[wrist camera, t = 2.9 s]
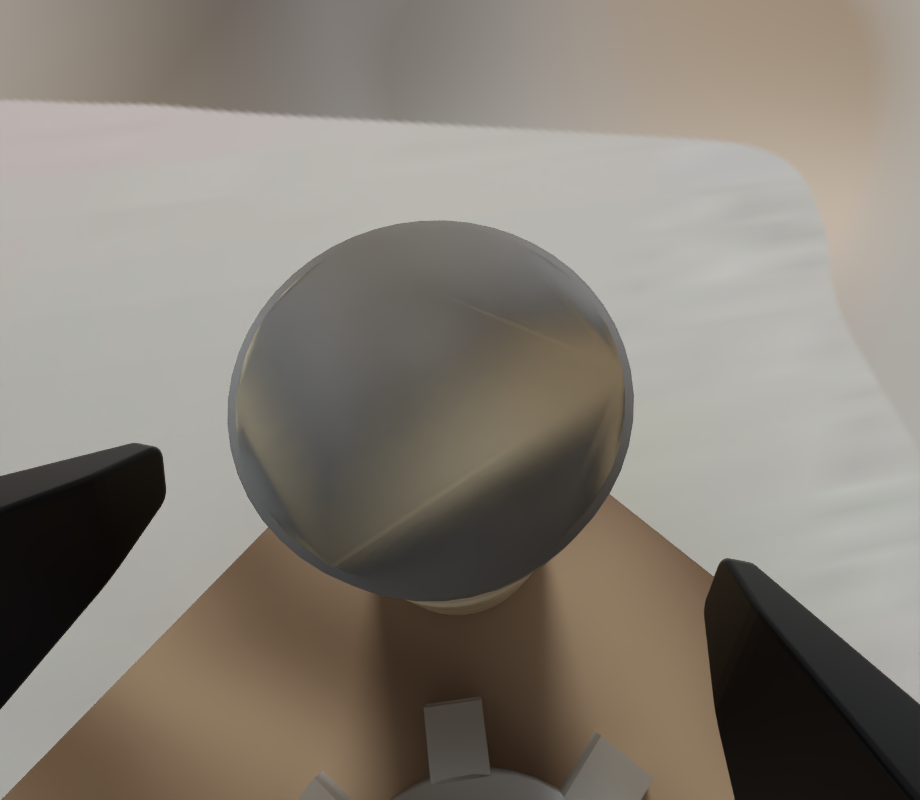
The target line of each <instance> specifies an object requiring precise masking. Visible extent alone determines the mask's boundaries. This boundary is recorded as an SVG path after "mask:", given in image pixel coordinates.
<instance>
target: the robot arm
mask: <svg viewBox="0 0 920 800" xmlns="http://www.w3.org/2000/svg"><path fill="white" fill-rule="evenodd" d="M165 495H166V483H165V474H164V464H163V456H162V453H161V451H160V450H159V449H158V448H157V447H154V446H149V445H144V444H139V443H131V444H127V445H123V446H119V447H115V448H111V449H107V450H103V451H99V452H95V453H91V454H87V455H83V456H79V457H75V458H71V459H67V460H63V461H59V462H55V463H51V464H47V465H43V466H39V467H35V468H31V469H27V470H23V471H19V472H15V473H11V474H7V475H3V476H0V709H1V708H2V707H3V706H4V705H5V703H6V702H7V701H8V700H9V699H10V697H11V696H12V695H13V694H14V693H15V692H16V690H17V689H18V688H19V687H20V686H21V684H22V683H23V682H24V681H25V680H26V679H27V677H28V676H29V675H30V674H31V673H32V671H33V670H34V669H35V668H36V667H37V666H38V664H39V663H40V662H41V661H42V660H43V658H44V657H45V656H46V655H47V654H48V653H49V651H50V650H51V649H52V648H53V647H54V645H55V644H56V643H57V642H58V641H59V640H60V638H61V637H62V636H63V635H64V634H65V632H66V631H67V630H68V629H69V628H70V627H71V625H72V624H73V623H74V622H75V621H76V620H77V618H78V617H79V616H80V615H81V614H82V612H83V611H84V610H85V609H86V608H87V607H88V605H89V604H90V603H91V602H92V601H93V599H94V598H95V597H96V596H97V595H98V594H99V592H100V591H101V590H102V589H103V587H104V586H105V585H106V584H107V582H108V581H109V580H110V579H111V577H112V576H113V575H114V573H115V572H116V570H117V569H118V568H119V566H120V565H121V563H122V562H123V561H124V559H125V558H126V556H127V555H128V553H129V552H130V550H131V549H132V548H133V546H134V545H135V543H136V542H137V540H138V539H139V537H140V536H141V534H142V533H143V532H144V530H145V529H146V527H147V526H148V524H149V523H150V521H151V520H152V519H153V517H154V516H155V514H156V513H157V511H158V510H159V508H160V507H161V505H162V504H163V501H164V499H165ZM704 621H705V630H706V639H707V648H708V657H709V666H710V675H711V684H712V693H713V700H714V708H715V714H716V719H717V724H718V729H719V733H720V738H721V742H722V746H723V751H724V755H725V760H726V764H727V768H728V773H729V777H730V781H731V786H732V790H733V794H734V799H735V800H920V704H919V703H918V702H916V701H915V700H914V699H913V698H912V697H910V696H909V695H908V694H907V693H906V692H905V691H903V690H902V689H901V688H900V687H899V686H897V685H896V684H895V683H894V682H893V681H892V680H890V679H889V678H888V677H887V676H886V675H884V674H883V673H882V672H881V671H880V670H879V669H877V668H876V667H875V666H874V665H873V664H871V663H870V662H869V661H868V660H867V659H866V658H864V657H863V656H862V655H861V654H860V653H858V652H857V651H856V650H855V649H854V648H853V647H851V646H850V645H849V644H848V643H847V642H845V641H844V640H843V639H842V638H841V637H839V636H838V635H837V634H836V633H835V632H834V631H832V630H831V629H830V628H829V627H828V626H826V625H825V624H824V623H823V622H822V621H821V620H819V619H818V618H817V617H816V616H815V615H813V614H812V613H811V612H810V611H809V610H808V609H806V608H805V607H804V606H803V605H802V604H800V603H799V602H798V601H797V600H796V599H795V598H793V597H792V596H791V595H790V594H789V593H787V592H786V591H785V590H784V589H783V588H782V587H780V586H779V585H778V584H777V583H776V582H774V581H773V580H772V579H771V578H770V577H769V576H767V575H766V574H765V573H764V572H763V571H761V570H760V569H759V568H758V567H757V566H755V565H754V564H752V563H750V562H745V561H740V560H735V559H729V558H726V559H724V560H722V561H721V562H720V564H719V566H718V568H717V571H716V573H715V576H714V579H713V581H712V584H711V587H710V589H709V592H708V595H707V597H706V600H705V605H704Z"/></svg>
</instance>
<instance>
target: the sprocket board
mask: <svg viewBox="0 0 920 800" xmlns="http://www.w3.org/2000/svg"><path fill="white" fill-rule="evenodd" d="M713 579H714V577H713V576H712V575H711V574H710V573H708V572H707V571H706V570H705V569H703V568H702V567H701V566H699V565H698V564H697V563H696V562H694V561H693V560H692V559H691V558H689V557H688V556H687V555H686V554H684V553H683V552H682V551H681V550H679V549H678V548H677V547H675V546H674V545H673V544H672V543H670V542H669V541H668V540H667V539H665V538H664V537H663V536H662V535H660V534H659V533H658V532H657V531H655V530H654V529H653V528H651V527H650V526H649V525H648V524H646V523H645V522H644V521H643V520H641V519H640V518H639V517H638V516H636V515H635V514H634V513H633V512H631V511H630V510H629V509H627V508H626V507H625V506H624V505H622V504H621V503H620V502H619V501H617V500H616V499H615V498H614V497H612V496H611V495H610V494H609V495H608V497H607V498H606V500H605V501H604V503H603V504H602V506H601V507H600V509H599V510H598V511H597V513H596V514H595V516H594V517H593V519H592V520H591V521H590V522H589V523H588V524H587V525H586V526H585V527H584V528H583V530H582V531H581V532H580V533H579V534H578V535H577V536H576V537H575V538H574V539H573V540H572V541H571V542H570V543H569V544H568V545H567V546H566V547H565V548H564V549H563V550H562V551H561V552H560V553H558V554H557V555H556V556H555V557H554V558H552V559H551V560H550V561H549V562H547V563H546V564H545V565H544V566H542V567H541V568H539V569H537V570H536V571H534V572H533V573H532V574H531V575H530V576H529V578H528V579H527V580H526V581H525V582H524V583H523V584H522V585H521V587H520V588H519V589H518V590H517V591H516V592H515V593H514V594H512V595H511V596H510V597H509V598H508V599H506V600H505V601H503V602H501V603H500V604H498V605H497V606H494V607H492V608H490V609H488V610H485V611H482V612H478V613H475V614H467V615H446V614H439V613H436V612H432V611H429V610H426V609H424V608H422V607H420V606H417V605H415V604H413V603H411V602H409V601H406V600H403V599H396V598H390V597H386V596H383V595H379V594H376V593H372V592H369V591H365V590H362V589H360V588H357V587H354V586H352V585H350V584H347V583H345V582H343V581H341V580H338V579H336V578H334V577H332V576H329V575H327V574H325V573H323V572H322V571H320V570H319V569H317V568H315V567H314V566H312V565H311V564H309V563H308V562H306V561H304V560H303V559H301V558H300V557H299V556H298V555H297V554H295V553H294V552H293V551H292V550H291V549H290V548H288V547H287V546H286V545H285V544H284V543H283V542H281V541H280V540H279V539H278V537H277V536H276V535H275V534H274V533H273V532H272V530H271V529H270V528H269V527H268V528H267V529H266V530H265V531H264V532H263V533H262V534H261V535H260V536H259V537H258V538H257V539H256V540H255V541H254V542H253V543H252V544H251V545H250V546H249V547H248V549H247V550H246V551H245V552H244V553H243V554H242V555H241V556H240V557H239V558H238V559H237V560H236V561H235V562H234V563H233V564H232V565H231V566H230V567H229V568H228V569H227V570H226V571H225V572H224V573H223V574H222V575H221V576H220V577H219V578H218V579H217V580H216V581H215V582H214V583H213V584H212V585H211V586H210V587H209V588H208V589H207V590H206V591H205V592H204V593H203V594H202V595H201V596H200V598H199V599H198V600H197V601H196V602H195V603H194V604H193V605H192V606H191V607H190V608H189V609H188V610H187V611H186V612H185V613H184V614H183V615H182V616H181V617H180V618H179V619H178V620H177V621H176V622H175V623H174V624H173V625H172V626H171V627H170V628H169V629H168V630H167V631H166V632H165V633H164V634H163V635H162V636H161V637H160V638H159V639H158V640H157V641H156V642H155V643H154V644H153V645H152V647H151V648H150V649H149V650H148V651H147V652H146V653H145V654H144V655H143V656H142V657H141V658H140V659H139V660H138V661H137V662H136V663H135V664H134V665H133V666H132V667H131V668H130V669H129V670H128V671H127V672H126V673H125V674H124V675H123V676H122V677H121V678H120V679H119V680H118V681H117V682H116V683H115V684H114V685H113V686H112V687H111V688H110V689H109V690H108V691H107V692H106V693H105V694H104V696H103V697H102V698H101V699H100V700H99V701H98V702H97V703H96V704H95V705H94V706H93V707H92V708H91V709H90V710H89V711H88V712H87V713H86V714H85V715H84V716H83V717H82V718H81V719H80V720H79V721H78V722H77V723H76V724H75V725H74V726H73V727H72V728H71V729H70V730H69V731H68V732H67V733H66V734H65V735H64V736H63V737H62V738H61V739H60V740H59V741H58V742H57V744H56V745H55V746H54V747H53V748H52V749H51V750H50V751H49V752H48V753H47V754H46V755H45V756H44V757H43V758H42V759H41V760H40V761H39V762H38V763H37V764H36V765H35V766H34V767H33V768H32V769H31V770H30V771H29V772H28V773H27V774H26V775H25V776H24V777H23V778H22V779H21V780H20V781H19V782H18V783H17V784H16V785H15V786H14V787H13V788H12V789H11V790H10V791H9V793H8V794H7V795H6V796H5V797H4V798H3V799H2V800H735V799H734V794H733V790H732V786H731V781H730V777H729V773H728V768H727V764H726V760H725V755H724V751H723V746H722V742H721V738H720V733H719V729H718V724H717V719H716V714H715V708H714V700H713V693H712V684H711V675H710V666H709V657H708V648H707V639H706V630H705V621H704V605H705V600H706V597H707V595H708V592H709V589H710V587H711V584H712V581H713Z"/></svg>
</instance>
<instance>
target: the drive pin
mask: <svg viewBox="0 0 920 800" xmlns="http://www.w3.org/2000/svg"><path fill="white" fill-rule="evenodd" d="M633 402H634V394H633V385H632V377H631V370H630V366H629V362H628V358H627V355H626V351H625V347H624V345H623V342H622V340H621V338H620V335H619V333H618V330H617V328H616V326H615V324H614V322H613V320H612V319H611V317H610V315H609V314H608V312H607V310H606V309H605V307H604V305H603V304H602V302H601V301H600V300H599V299H598V297H597V296H596V295H595V294H594V292H593V291H592V290H591V288H590V287H589V286H588V285H587V284H586V283H585V282H584V281H583V280H582V279H581V278H580V277H579V276H578V275H577V274H576V273H575V272H574V271H573V270H572V269H570V268H569V267H568V266H567V265H565V264H564V263H563V262H561V261H560V260H559V259H558V258H556V257H555V256H554V255H552V254H550V253H549V252H547V251H545V250H544V249H542V248H540V247H538V246H537V245H535V244H533V243H531V242H529V241H527V240H524V239H522V238H520V237H518V236H515V235H513V234H510V233H507V232H504V231H501V230H498V229H495V228H491V227H487V226H482V225H477V224H472V223H466V222H455V221H418V222H410V223H402V224H396V225H391V226H387V227H383V228H379V229H375V230H372V231H369V232H366V233H363V234H361V235H358V236H355V237H352V238H350V239H348V240H346V241H344V242H342V243H340V244H338V245H336V246H333V247H331V248H330V249H328V250H327V251H325V252H323V253H322V254H320V255H319V256H317V257H315V258H314V259H312V260H311V261H309V262H308V263H307V264H306V265H304V266H303V267H302V268H301V269H299V270H298V271H297V272H295V273H294V274H293V275H292V276H291V277H290V278H289V279H288V280H287V281H286V282H285V283H284V284H283V285H282V286H281V287H280V288H279V289H278V290H277V291H276V292H275V293H274V294H273V296H272V297H271V298H270V300H269V301H268V302H267V303H266V305H265V306H264V307H263V308H262V310H261V311H260V313H259V314H258V316H257V318H256V319H255V321H254V323H253V324H252V326H251V328H250V329H249V331H248V333H247V335H246V338H245V340H244V342H243V344H242V347H241V349H240V351H239V354H238V357H237V360H236V364H235V367H234V370H233V374H232V378H231V385H230V391H229V397H228V431H229V439H230V447H231V452H232V455H233V459H234V463H235V466H236V470H237V473H238V476H239V478H240V480H241V483H242V485H243V487H244V489H245V492H246V494H247V496H248V498H249V500H250V501H251V503H252V504H253V506H254V508H255V509H256V511H257V512H258V514H259V515H260V517H261V519H262V520H263V521H264V522H265V524H266V525H267V526H268V527H269V528H270V529H271V530H272V532H273V533H274V534H275V535H276V536H277V537H278V539H279V540H280V541H281V542H283V543H284V544H285V545H286V546H287V547H288V548H290V549H291V550H292V551H293V552H294V553H295V554H297V555H298V556H299V557H300V558H301V559H303V560H304V561H306V562H308V563H309V564H311V565H312V566H314V567H315V568H317V569H319V570H320V571H322V572H323V573H325V574H327V575H329V576H332V577H334V578H336V579H338V580H341V581H343V582H345V583H347V584H350V585H352V586H354V587H357V588H360V589H362V590H365V591H369V592H372V593H376V594H379V595H383V596H386V597H390V598H396V599H403V600H406V601H409V602H411V603H413V604H415V605H417V606H420V607H422V608H424V609H426V610H429V611H432V612H436V613H439V614H446V615H467V614H475V613H478V612H482V611H485V610H488V609H490V608H492V607H494V606H497V605H498V604H500V603H501V602H503V601H505V600H506V599H508V598H509V597H510V596H511V595H512V594H514V593H515V592H516V591H517V590H518V589H519V588H520V587H521V585H522V584H523V583H524V582H525V581H526V580H527V579H528V578H529V576H530V575H531V574H532V573H533V572H534V571H536V570H537V569H539V568H541V567H542V566H544V565H545V564H546V563H547V562H549V561H550V560H551V559H552V558H554V557H555V556H556V555H557V554H558V553H560V552H561V551H562V550H563V549H564V548H565V547H566V546H567V545H568V544H569V543H570V542H571V541H572V540H573V539H574V538H575V537H576V536H577V535H578V534H579V533H580V532H581V531H582V530H583V528H584V527H585V526H586V525H587V524H588V523H589V522H590V521H591V520H592V519H593V517H594V516H595V514H596V513H597V511H598V510H599V509H600V507H601V506H602V504H603V503H604V501H605V500H606V498H607V497H608V495H609V493H610V491H611V489H612V487H613V485H614V483H615V481H616V479H617V477H618V475H619V473H620V471H621V468H622V465H623V462H624V459H625V456H626V453H627V450H628V446H629V441H630V435H631V429H632V424H633Z"/></svg>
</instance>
